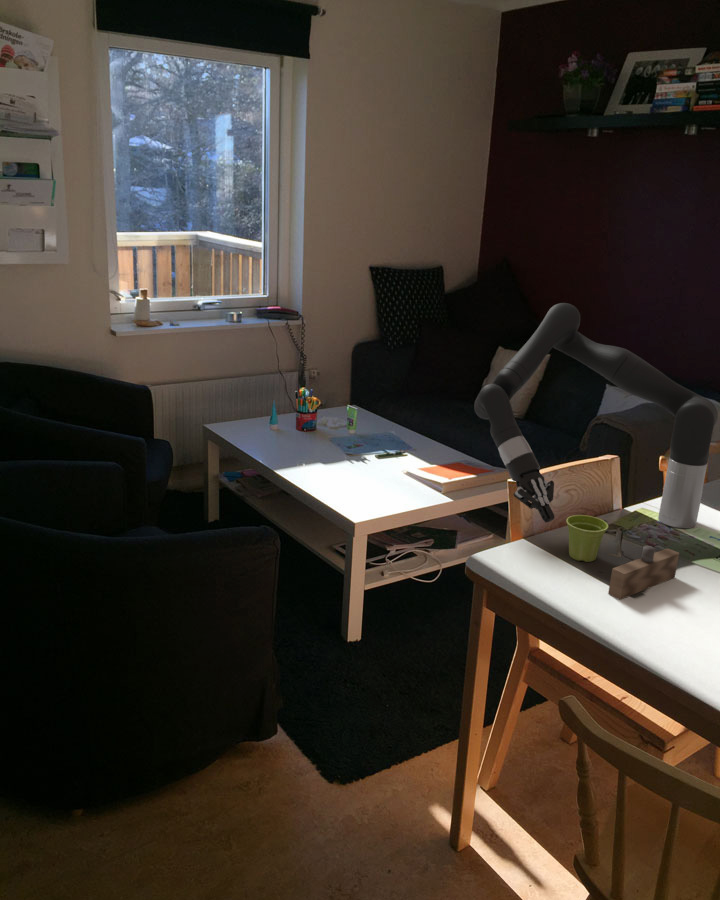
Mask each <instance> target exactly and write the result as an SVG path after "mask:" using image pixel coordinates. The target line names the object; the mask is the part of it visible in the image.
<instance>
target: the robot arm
mask: <svg viewBox="0 0 720 900" xmlns="http://www.w3.org/2000/svg"><path fill="white" fill-rule="evenodd" d="M580 324H581V313H580V312H579V310H578V308H577V307H576V306H575V305H573V304H571V303H567V302H560V303H557V304H554V305H552V307H550V308H549V310H548V311H547V313H546V314H545V316H544V318H543V320H542V321H541V322H540V324H539V325H538V327H537V329H536V330H534V333H533V334H532V335H531V336H530V338H529V339H528V340H527V341H526V343H525V344H523V346H522V347H521V348H519V350H518V351H517V352H516V353H515V355H514V356H513V357H511V359H510V360H509V361H508V362H507V363H506V364H505V365H504V366H503V367H502V368H501V370H500V371H499V372H498V373H497V375H496V376H495V378H494V380H493V381H492V382H491V383H489V384H486V385H484V386H483V387H482V388H481V390H479V393H478V394H477V397H476V399H475V400H474V404H473V406H474V407H473V408H474V413H475V414H476V415H477V417H478V418H480V419H482V420H489V423H490V428H489V429H490V431H489V433H490V435H491V438H492V439H493V442H494V444H495V446H496V448H497V449H498V453H499V456H500V458H501V460H502V462H503V464H504V466H505V468H506V471H507V472H508V474H509V476H510V478H511V481H513V482H515V483H516V484H515V485H516V487H517V489H516V491H515V492H514V493H513V496H514V498H515V499H516V500H518V501H520V502H521V503H522V504H523V505H525V506H527V508H529V509H530V510H532V509H535V510H536V511H538V513H539V515H540V517H541V519H542V520H543V521H544V522H545V524H547V523H550V522H552V521H554V520H555V513H554V512H553V510H552V508H551V506H550V503H551V502H553V501H554V490H555V482H554V481H553V480H550V481H548V480H546V479H545V477H544V476H543V474H541V472H540V470H541V466H540V464H539V461H538V460H537V458H536V455H535V454H534V452H533V450H532V449H531V446H530V444H529V442H528V441H527V440H526V438H525V437H524V434H522V431H521V429H520V427H519V425H518V423H517V421H516V419H515V415H514V414H515V413H514V410H513V407H512V404H511V400H512V398H513V397H514V396H515V395H516V394H517V393H518V392H519V391H520V390H521V389H522V388H523V386H525V385H526V384H527V383H528V382H529V380H530V379H531V378H532V376H534V374H535V373H536V371H537V370H538V369H539V367H540V366H541V364H543V363H542V362H543V361H544V360H545V358H546V357H547V356H548V354H549V352H550V351H551V350H552V349H553V348H554V349H555V350H557V351H559V352H561V353H563V354H564V355H566V356H568V357H571V358H573V359H575V360H577V361H578V362H579V363H581V364H583V365H584V366H586V367H587V368H589V369H590V370H593V371H594V372H596V373H597V374H598V375H600V376H602V377H603V378H605V379H606V380H608V381H609V382H610V383H612V384H613V385H615V386H616V387H618V388H619V389H621V390H623V391H625V392H626V393H628V394H630V395H632V396H634V397H637V398H639V399H641V400H642V399H643V400H646V401H648V402H650V403H654V404H656V405H658V406H659V407H661V408H663V409H664V410H665V411H666V412H668V413H670V415H672V416H673V417H674V422H673V428H672V434H671V439H670V440H671V441H670V447H669V449H670V450H669V451H670V452H669V458H668V463H667V469H666V474H665V481H664V485H663V491H662V497H661V502H660V506H659V511H658V515H657V517H658V520H659V521H660V523H662V524H664V525H665V526H670V527H673V528H678V529H690V528H694V527H695V526H696V523H697V522H698V516H699V512H700V506H701V501H702V496H703V491H704V488H703V487H704V482H705V478H706V472H707V467H708V462H709V457H710V447H711V442H712V438H713V433H714V432H713V430H714V427H715V425H716V423H717V421H718V419H719V418H718V417H719V414H718V408H717V407H716V405H715V404H714V402H713V401H711V400H710V399H708V398H706V397H704V396H702V395H701V394H698V393H696V392H695V391H692V390H690V389H688V388H687V387H684V386H683V385H681V384H679V383H677V382H676V381H674V380H672V379H671V378H670V377H669V376H667V375H665V373H664V372H662V371H660V370H659V369H657V368H656V367H654V366H653V365H651V364H650V363H649V362H648V361H646V360H644V359H643V358H642V357H640V356H638V355H637V354H635V353H633V352H632V351H630V349H629V350H628V349H626V348H624V347H620V346H616V345H609V344H602V343H598V342H596V341H593V340H592V339H590V338H588V337H587V336H585V335H584V334H582V333H580V332H579V331H578V330H579V327H580Z"/></svg>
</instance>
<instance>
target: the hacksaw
mask: <svg viewBox="0 0 720 900" xmlns="http://www.w3.org/2000/svg"><path fill="white" fill-rule="evenodd" d="M602 520H603V521H605V522H606V523H607V524H608V525H609V523H608V521H607V520H606V519H602ZM621 529H624V530H626V531H625V532H624V533H628V532H629V530H628V528H625V527H618V528H617V529H607V530H606V531H605V533H607V534H615V533H616V537H615V549H616V550H615V551H616V554H613V553H606V555H609V556H613V557H614V556H615V557H617V558H622V557H624V558H626V559H629V560H631V561H634V560H635V559H633V558H630V557H627V556H626V555H625V554H624V551H623V550H622V548H621V545H622V533H623V531H622V530H621Z"/></svg>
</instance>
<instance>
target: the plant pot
mask: <svg viewBox="0 0 720 900" xmlns="http://www.w3.org/2000/svg"><path fill="white" fill-rule="evenodd" d="M603 520H604V519H601V518H599V517H595V516H592V515H585V514H574V515H570V516H568V517H567V518H566V520H565V521H566V524H567V528H568V554H569V557H570V558H571V559H573V560H575V561H578V562H579V561H583V562H585V563H588V562H593V561H595V560H596V559H597V555H598V554H599V549H600V545H601V544H602V543H601V542H602V539H603V536H604V535H605V533H606V532H605V531H606V530H609V523H608V524H607V523H606V522H605V521H603Z"/></svg>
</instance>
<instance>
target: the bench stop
mask: <svg viewBox="0 0 720 900" xmlns="http://www.w3.org/2000/svg"><path fill="white" fill-rule="evenodd" d="M679 557H680V552H678V551H675V550H673V549H671V548H665V549H662V550H659V551H656V548H655V547H653V546H652V545H644V546H643V547H642V553H641V557H640V558H637V559H634V561H633V560H631V561H629V562H626V563H624V564H621V565H617V566H616V567H613V568H612V569H611V570H612V571H611V573H610V574H611V575H610V579H609V586H608V591H607V594H608V595H610V596H612V597H614V598H616V599H618V600H624V599H625V598H628V597H630V596H632V595H635V594H637V593H640V592H642V591H645V590H648V589H650V588H652V587H654V586H657V585H659V584H662V583H665V582H667V581H670V580H673V579H674V577H676V572H677V567H678V563H679Z"/></svg>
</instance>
